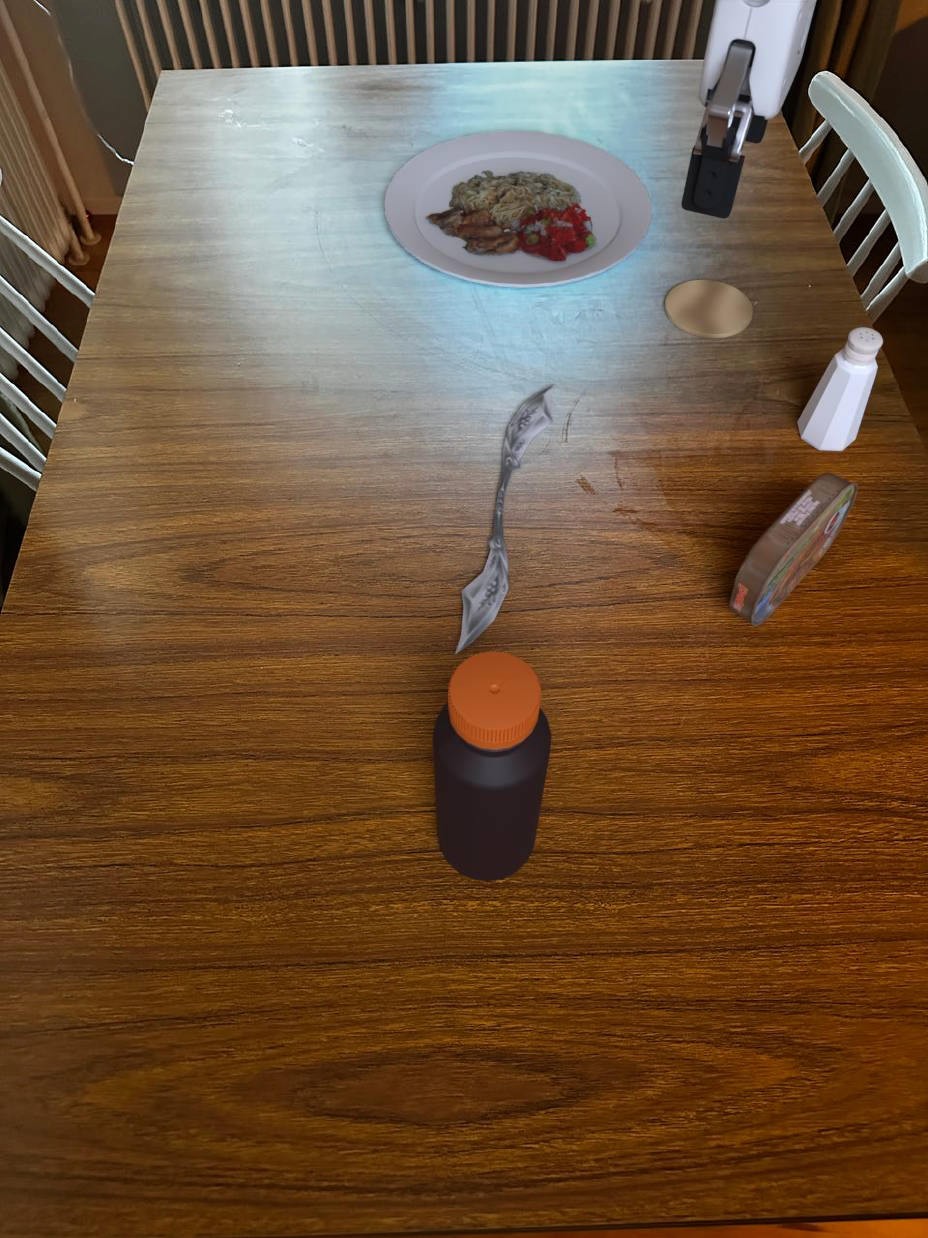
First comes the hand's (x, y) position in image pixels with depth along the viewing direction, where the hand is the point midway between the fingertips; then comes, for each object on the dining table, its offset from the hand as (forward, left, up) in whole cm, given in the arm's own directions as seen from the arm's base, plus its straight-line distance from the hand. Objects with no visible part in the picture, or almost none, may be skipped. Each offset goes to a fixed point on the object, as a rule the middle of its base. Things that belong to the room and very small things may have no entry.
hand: (722, 173), depth 65 cm
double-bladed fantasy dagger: (+14, +6, -27) cm, 31 cm away
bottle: (+17, +36, -27) cm, 48 cm away
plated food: (+11, -38, -27) cm, 48 cm away
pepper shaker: (-16, -3, -27) cm, 32 cm away
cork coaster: (-8, -21, -27) cm, 35 cm away
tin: (-8, +14, -27) cm, 32 cm away
